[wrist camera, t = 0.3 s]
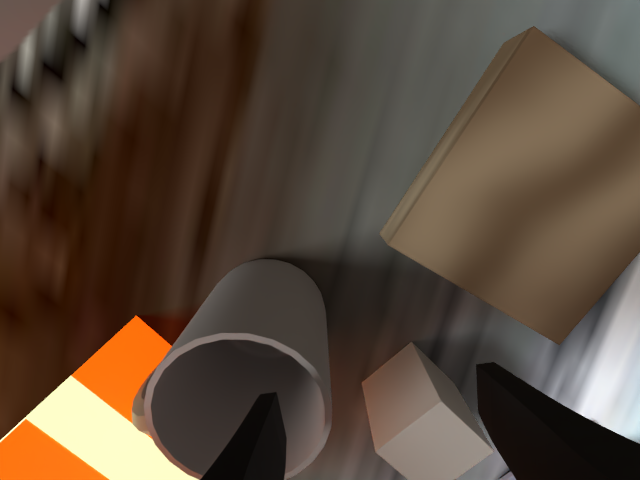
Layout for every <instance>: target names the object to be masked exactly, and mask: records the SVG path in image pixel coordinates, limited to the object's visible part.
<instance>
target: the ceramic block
mask: <svg viewBox="0 0 640 480" xmlns="http://www.w3.org/2000/svg"><path fill="white" fill-rule="evenodd" d="M362 388H363V393H364V398H365V403H366V408H367V413H368V418H369V423H370V428H371V433H372V438H373V443H374V448H375V452H376V453H377V454H378V455H379V456H381V457H382V458H383V459H384V460H385V461H387V462H388V463H389V464H390V465H391V466H393V467H394V468H395V469H396V470H397V471H398V472H400V473H401V474H402V475H403V476H404V477H406V478H407V479H408V480H455V479H456V478H458V477H459V476H460V475H462V474H463V473H465V472H466V471H467V470H469V469H470V468H472V467H473V466H474V465H476V464H477V463H479V462H480V461H481V460H483V459H484V458H486V457H487V456H488V455H490V454H491V453H493V452H494V450H493V448H492V446H491V445H490V443H489V441H488V440H487V438H486V436H485V435H484V433H483V431H482V429H481V428H480V426H479V424H478V423H477V421H476V419H475V418H474V416H473V414H472V413H471V411H470V409H469V408H468V406H467V404H466V403H465V401H464V399H463V397H462V396H461V394H460V392H459V391H458V389H457V387H456V386H455V384H454V383H453V382H452V381H451V380H450V379H449V378H448V377H447V376H446V375H445V374H444V373H443V372H442V371H441V370H440V369H439V368H438V367H437V366H436V365H435V364H434V363H433V362H432V361H431V360H430V359H429V358H428V357H427V356H426V355H425V354H424V353H423V352H422V351H421V350H419V349H418V348H417V347H416V346H415V345H414V344H413V343H412V342H410V343H409V344H408V345H407V346H406V347H404V348H403V349H402V350H401V351H399V352H398V353H397V354H396V355H395V356H393V357H392V358H391V359H390V360H389V361H387V362H386V363H385V364H384V365H382V366H381V367H380V368H379V369H378V370H376V371H375V372H374V373H373V374H372V375H370V376H369V377H368V378H367V379H365V380H364V381H363V382H362Z"/></svg>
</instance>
